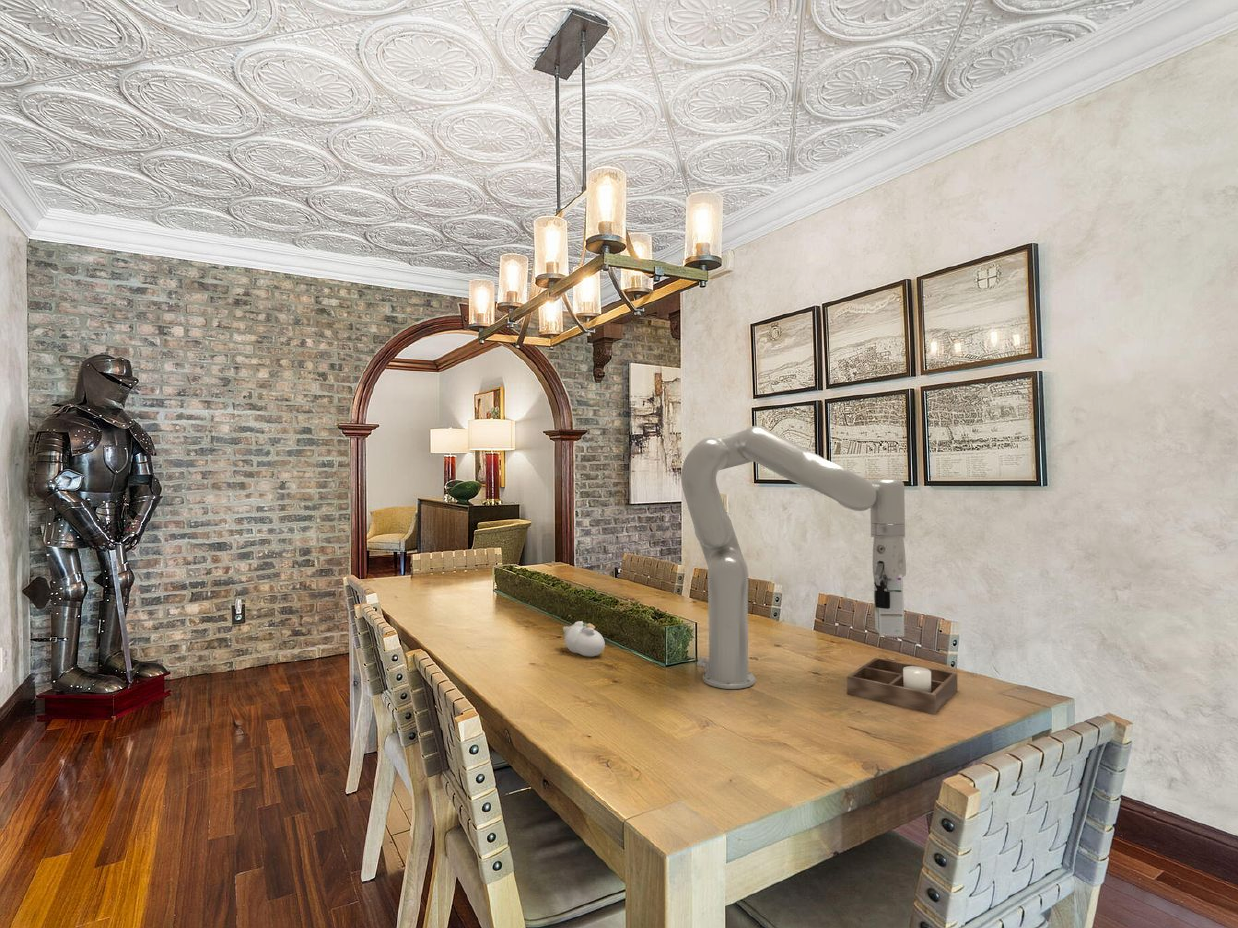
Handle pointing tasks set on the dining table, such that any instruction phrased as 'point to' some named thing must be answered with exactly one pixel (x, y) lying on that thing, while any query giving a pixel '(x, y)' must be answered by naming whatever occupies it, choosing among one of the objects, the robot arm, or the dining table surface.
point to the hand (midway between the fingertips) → (888, 604)
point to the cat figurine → (583, 639)
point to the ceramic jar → (917, 678)
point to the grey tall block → (891, 611)
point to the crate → (901, 686)
